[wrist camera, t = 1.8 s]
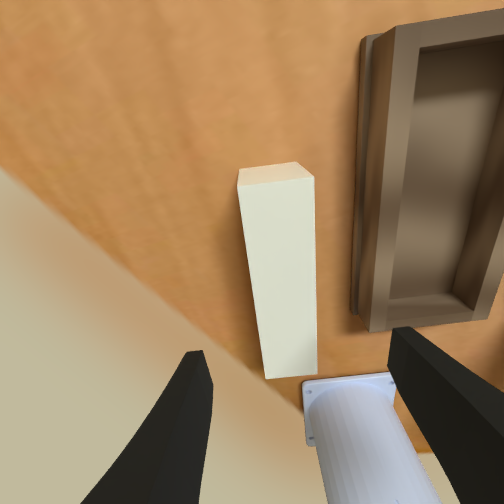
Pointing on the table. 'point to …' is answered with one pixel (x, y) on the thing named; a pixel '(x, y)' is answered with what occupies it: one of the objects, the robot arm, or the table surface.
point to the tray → (430, 173)
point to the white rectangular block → (282, 264)
